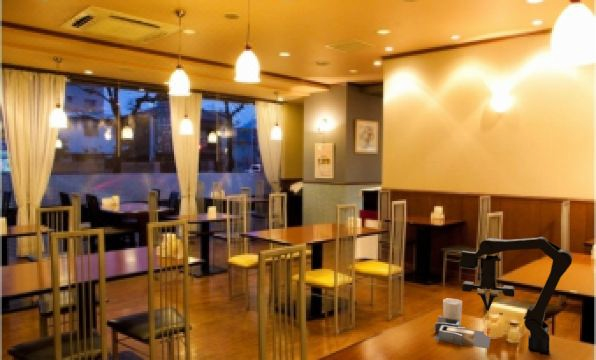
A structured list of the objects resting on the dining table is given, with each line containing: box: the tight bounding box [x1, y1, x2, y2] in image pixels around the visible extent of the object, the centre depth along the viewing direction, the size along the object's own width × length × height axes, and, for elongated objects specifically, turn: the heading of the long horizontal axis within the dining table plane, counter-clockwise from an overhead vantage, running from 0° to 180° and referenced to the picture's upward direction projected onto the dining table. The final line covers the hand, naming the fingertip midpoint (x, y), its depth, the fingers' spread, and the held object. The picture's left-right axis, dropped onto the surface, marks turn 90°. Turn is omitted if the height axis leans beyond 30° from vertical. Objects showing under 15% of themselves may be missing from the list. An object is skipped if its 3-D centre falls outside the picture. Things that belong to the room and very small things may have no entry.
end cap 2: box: [438, 325, 466, 347], centre depth 180 cm, size 9×10×4 cm
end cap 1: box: [434, 315, 461, 334], centre depth 189 cm, size 9×10×4 cm
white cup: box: [442, 298, 463, 325], centre depth 198 cm, size 8×8×10 cm
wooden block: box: [446, 327, 474, 344], centre depth 178 cm, size 10×4×4 cm, turn 63°
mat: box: [433, 328, 492, 349], centre depth 183 cm, size 20×17×1 cm
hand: (487, 310), depth 179 cm, fingers closed
